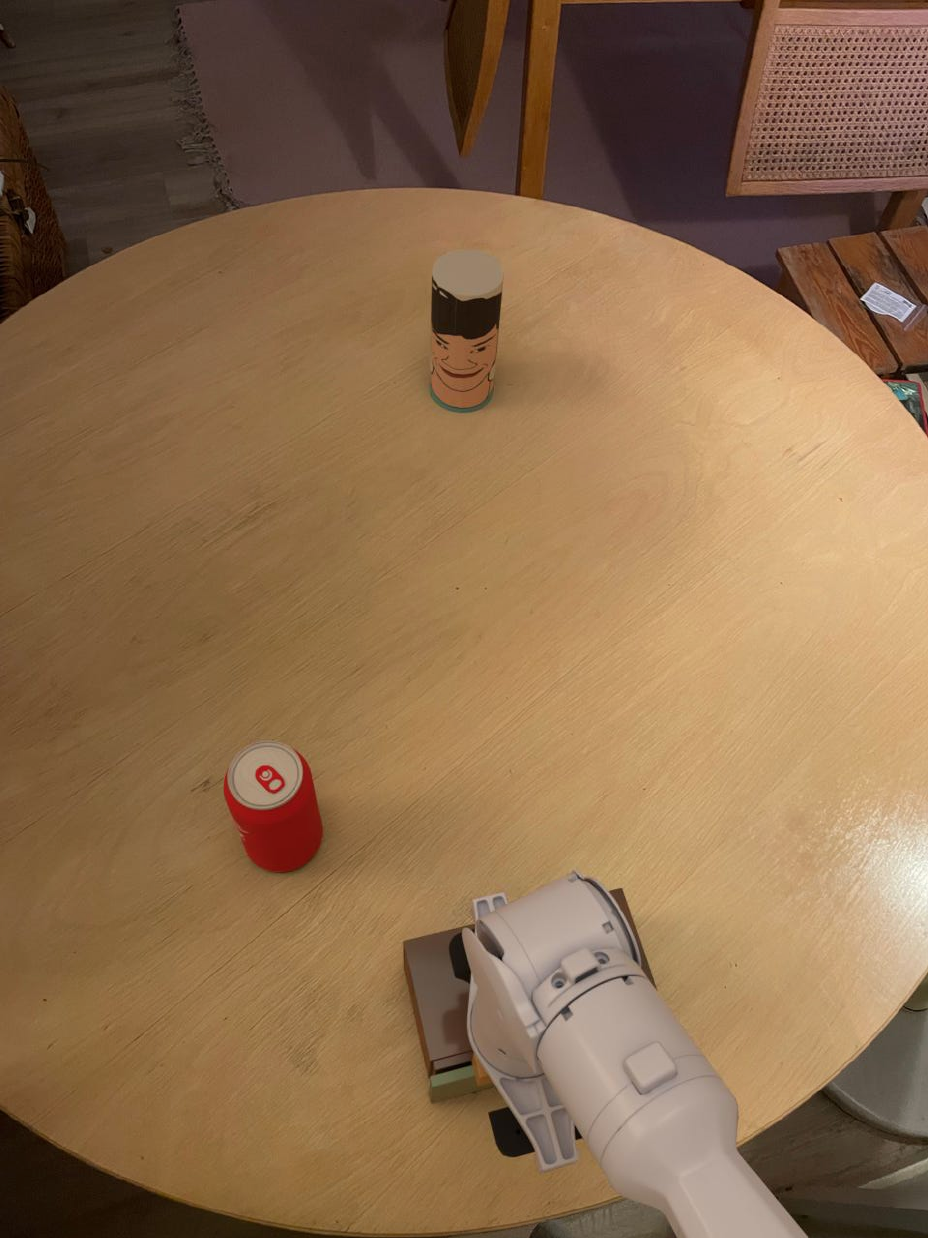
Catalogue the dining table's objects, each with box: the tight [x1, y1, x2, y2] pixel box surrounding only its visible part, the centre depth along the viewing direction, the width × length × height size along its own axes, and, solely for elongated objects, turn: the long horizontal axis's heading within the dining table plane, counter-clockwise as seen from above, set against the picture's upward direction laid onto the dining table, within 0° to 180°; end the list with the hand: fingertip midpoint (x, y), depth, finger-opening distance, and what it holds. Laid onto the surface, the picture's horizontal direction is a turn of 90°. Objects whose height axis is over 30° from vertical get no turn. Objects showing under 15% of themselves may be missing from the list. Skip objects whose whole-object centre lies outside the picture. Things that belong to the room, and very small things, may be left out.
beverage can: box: [223, 739, 324, 873], centre depth 77 cm, size 6×6×12 cm
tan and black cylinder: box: [429, 248, 505, 413], centre depth 103 cm, size 7×7×15 cm
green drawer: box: [428, 1053, 496, 1105], centre depth 68 cm, size 2×8×10 cm, turn 105°
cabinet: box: [402, 887, 659, 1080], centre depth 73 cm, size 9×16×7 cm, turn 104°
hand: (508, 1052), depth 65 cm, fingers open, 7 cm apart
